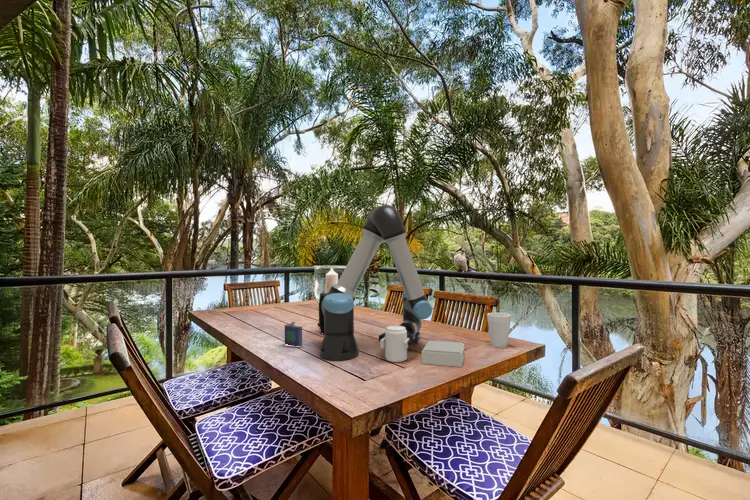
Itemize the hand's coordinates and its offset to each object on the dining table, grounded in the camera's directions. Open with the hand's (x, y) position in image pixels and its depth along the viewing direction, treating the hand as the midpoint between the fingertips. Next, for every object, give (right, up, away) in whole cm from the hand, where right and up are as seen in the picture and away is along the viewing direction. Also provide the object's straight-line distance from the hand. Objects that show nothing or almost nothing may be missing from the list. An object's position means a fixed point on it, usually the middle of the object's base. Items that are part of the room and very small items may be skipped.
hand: (392, 345), depth 134 cm
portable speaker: (-29, -6, +47) cm, 56 cm away
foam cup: (+46, -6, +22) cm, 51 cm away
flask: (-41, -7, +25) cm, 49 cm away
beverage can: (+2, -7, +5) cm, 8 cm away
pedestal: (+19, -6, +4) cm, 21 cm away
